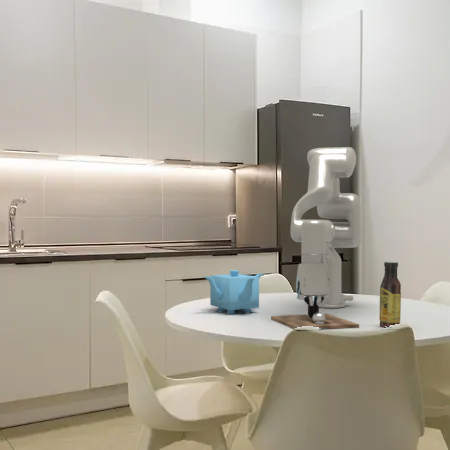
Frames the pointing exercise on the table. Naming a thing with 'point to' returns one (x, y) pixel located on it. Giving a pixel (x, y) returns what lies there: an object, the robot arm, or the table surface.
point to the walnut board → (305, 320)
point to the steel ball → (318, 318)
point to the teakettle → (234, 291)
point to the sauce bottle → (390, 296)
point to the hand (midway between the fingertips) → (313, 317)
